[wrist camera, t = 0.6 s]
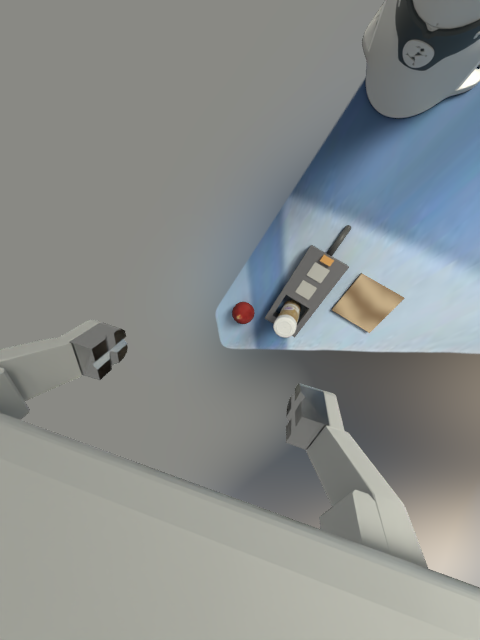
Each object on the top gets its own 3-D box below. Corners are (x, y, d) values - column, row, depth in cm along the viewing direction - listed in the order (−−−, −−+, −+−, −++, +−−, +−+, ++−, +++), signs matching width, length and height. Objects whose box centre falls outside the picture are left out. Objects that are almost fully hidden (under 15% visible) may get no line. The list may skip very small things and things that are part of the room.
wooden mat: (361, 273, 44) (361, 273, 44) (403, 297, 43) (404, 298, 42) (331, 309, 49) (331, 310, 48) (368, 331, 48) (369, 332, 47)
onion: (249, 322, 58) (240, 333, 51) (234, 309, 58) (222, 319, 51) (261, 308, 55) (253, 318, 48) (245, 294, 55) (234, 302, 48)
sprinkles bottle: (298, 297, 51) (292, 315, 39) (303, 314, 52) (298, 336, 40) (280, 301, 53) (270, 320, 41) (285, 317, 54) (276, 339, 42)
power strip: (330, 215, 42) (331, 213, 39) (368, 236, 41) (374, 236, 38) (267, 313, 55) (263, 319, 51) (296, 331, 54) (294, 338, 50)
